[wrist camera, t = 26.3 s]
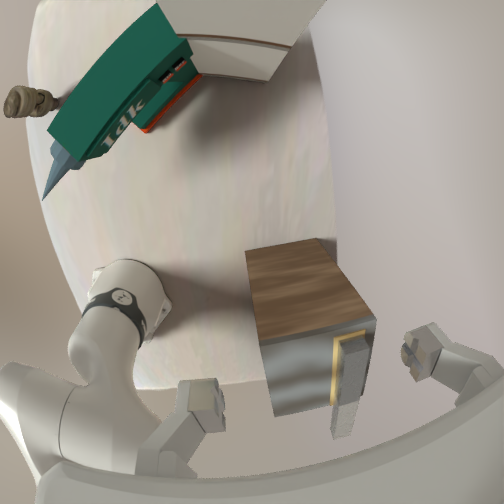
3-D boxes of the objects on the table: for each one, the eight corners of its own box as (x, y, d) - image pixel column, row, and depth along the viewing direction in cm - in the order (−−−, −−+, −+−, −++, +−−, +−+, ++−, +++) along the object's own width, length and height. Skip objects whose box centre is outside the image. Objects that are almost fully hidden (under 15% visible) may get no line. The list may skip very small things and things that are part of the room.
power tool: (104, 191, 45) (46, 226, 27) (80, 168, 43) (15, 193, 25) (223, 61, 38) (222, 15, 20) (196, 38, 36) (178, -15, 18)
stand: (319, 304, 60) (363, 396, 36) (257, 316, 59) (274, 418, 36) (315, 238, 53) (377, 320, 29) (244, 250, 53) (259, 347, 29)
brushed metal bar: (346, 424, 39) (350, 435, 37) (330, 428, 39) (333, 439, 37) (361, 334, 30) (369, 348, 28) (338, 340, 30) (345, 355, 27)
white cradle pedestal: (276, 32, 36) (345, -97, 4) (267, 83, 40) (342, -19, 8) (210, 24, 35) (181, -115, 3) (200, 75, 39) (132, -36, 7)
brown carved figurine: (61, 85, 35) (14, 77, 22) (71, 103, 37) (24, 100, 24) (42, 104, 36) (-5, 103, 22) (52, 123, 38) (4, 126, 25)
